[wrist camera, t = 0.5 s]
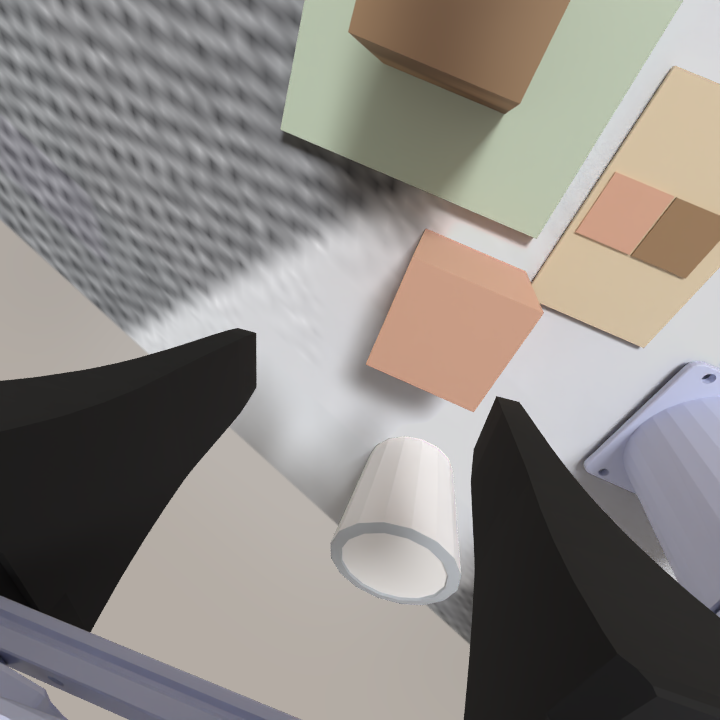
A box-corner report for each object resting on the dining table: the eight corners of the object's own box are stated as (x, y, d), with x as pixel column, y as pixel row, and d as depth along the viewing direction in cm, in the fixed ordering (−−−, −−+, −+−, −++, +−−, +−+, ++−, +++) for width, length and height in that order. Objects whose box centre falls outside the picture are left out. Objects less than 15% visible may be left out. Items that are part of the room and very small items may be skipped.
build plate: (801, -201, 10) (816, -216, 9) (534, 236, 16) (536, 238, 16) (381, -363, 10) (377, -385, 10) (285, 129, 17) (280, 129, 16)
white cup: (352, 427, 25) (316, 517, 19) (460, 430, 23) (457, 532, 17) (369, 500, 28) (342, 596, 22) (465, 508, 26) (464, 616, 20)
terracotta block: (525, 270, 17) (543, 313, 13) (472, 355, 20) (473, 412, 16) (426, 228, 17) (412, 256, 13) (386, 317, 20) (365, 364, 16)
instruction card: (839, 135, 13) (846, 134, 12) (642, 346, 18) (644, 348, 17) (672, 66, 13) (676, 65, 13) (523, 294, 18) (524, 297, 17)
